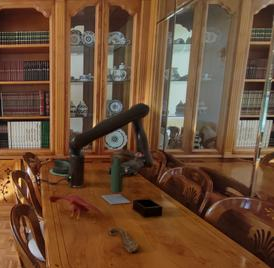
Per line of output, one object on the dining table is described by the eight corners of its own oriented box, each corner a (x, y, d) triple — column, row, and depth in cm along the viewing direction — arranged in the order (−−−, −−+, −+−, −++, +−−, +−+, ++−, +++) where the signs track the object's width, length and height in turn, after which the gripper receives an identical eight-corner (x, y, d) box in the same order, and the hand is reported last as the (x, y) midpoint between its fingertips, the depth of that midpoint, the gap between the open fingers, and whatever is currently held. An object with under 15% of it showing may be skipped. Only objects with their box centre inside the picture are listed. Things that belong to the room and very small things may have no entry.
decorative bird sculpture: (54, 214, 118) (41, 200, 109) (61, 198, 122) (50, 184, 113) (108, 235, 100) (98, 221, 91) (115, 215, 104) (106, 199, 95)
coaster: (111, 204, 120) (111, 204, 119) (101, 196, 130) (101, 195, 130) (130, 202, 121) (131, 202, 121) (119, 194, 132) (119, 193, 132)
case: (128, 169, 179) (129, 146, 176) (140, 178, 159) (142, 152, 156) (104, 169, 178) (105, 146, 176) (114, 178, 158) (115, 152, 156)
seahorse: (119, 229, 97) (119, 225, 96) (142, 252, 82) (142, 247, 82) (107, 231, 96) (107, 227, 95) (128, 255, 81) (128, 250, 81)
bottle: (114, 193, 122) (115, 159, 119) (108, 188, 128) (109, 156, 125) (124, 191, 123) (126, 158, 120) (118, 187, 129) (119, 155, 126)
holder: (144, 217, 106) (144, 208, 106) (132, 208, 115) (133, 199, 114) (161, 215, 108) (162, 206, 107) (148, 207, 117) (149, 198, 116)
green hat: (79, 168, 180) (75, 177, 161) (58, 177, 187) (52, 186, 168) (70, 151, 180) (65, 157, 161) (49, 160, 187) (42, 168, 168)
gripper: (118, 158, 138) (102, 164, 127) (143, 163, 127) (128, 170, 116) (118, 171, 139) (102, 177, 128) (142, 177, 128) (127, 184, 117)
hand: (114, 174), depth 122 cm, fingers closed on bottle, 6 cm apart
